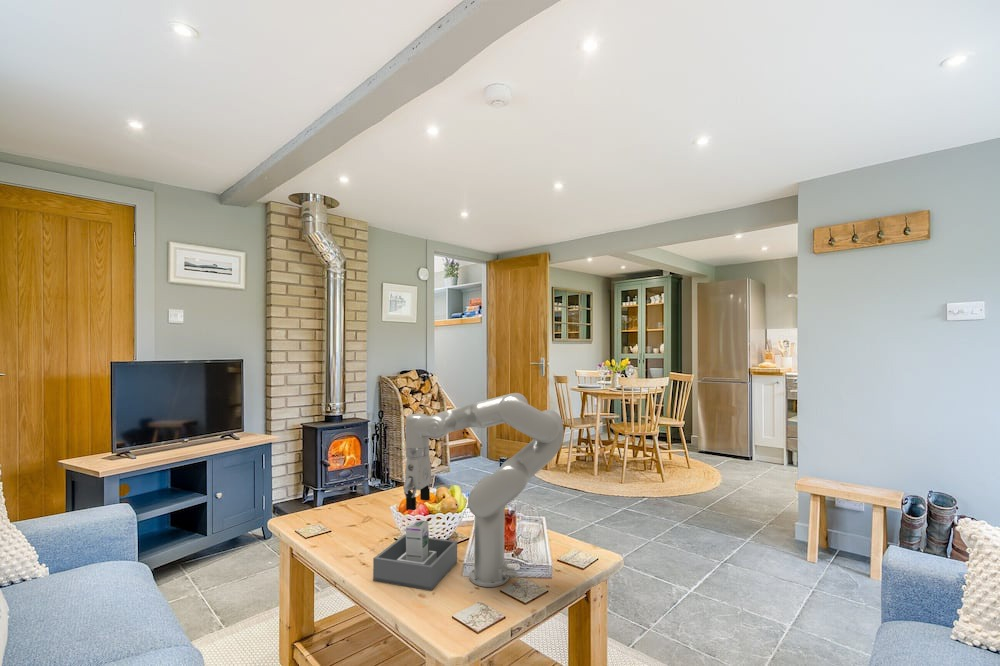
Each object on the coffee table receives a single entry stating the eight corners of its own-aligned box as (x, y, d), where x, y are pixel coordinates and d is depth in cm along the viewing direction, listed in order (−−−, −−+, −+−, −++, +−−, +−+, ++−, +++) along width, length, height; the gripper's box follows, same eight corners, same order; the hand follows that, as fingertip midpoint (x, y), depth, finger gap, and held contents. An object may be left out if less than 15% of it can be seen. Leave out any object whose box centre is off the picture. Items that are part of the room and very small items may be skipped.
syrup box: (422, 573, 156) (422, 527, 156) (405, 571, 157) (405, 525, 158) (429, 565, 162) (429, 520, 162) (412, 563, 163) (412, 519, 163)
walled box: (457, 562, 166) (457, 541, 166) (431, 590, 147) (431, 567, 147) (404, 554, 172) (404, 534, 172) (373, 580, 153) (373, 558, 153)
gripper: (415, 458, 151) (416, 514, 150) (439, 447, 167) (440, 497, 167) (393, 457, 153) (394, 512, 153) (419, 446, 169) (420, 495, 169)
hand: (418, 504), depth 160 cm, fingers open, 9 cm apart
